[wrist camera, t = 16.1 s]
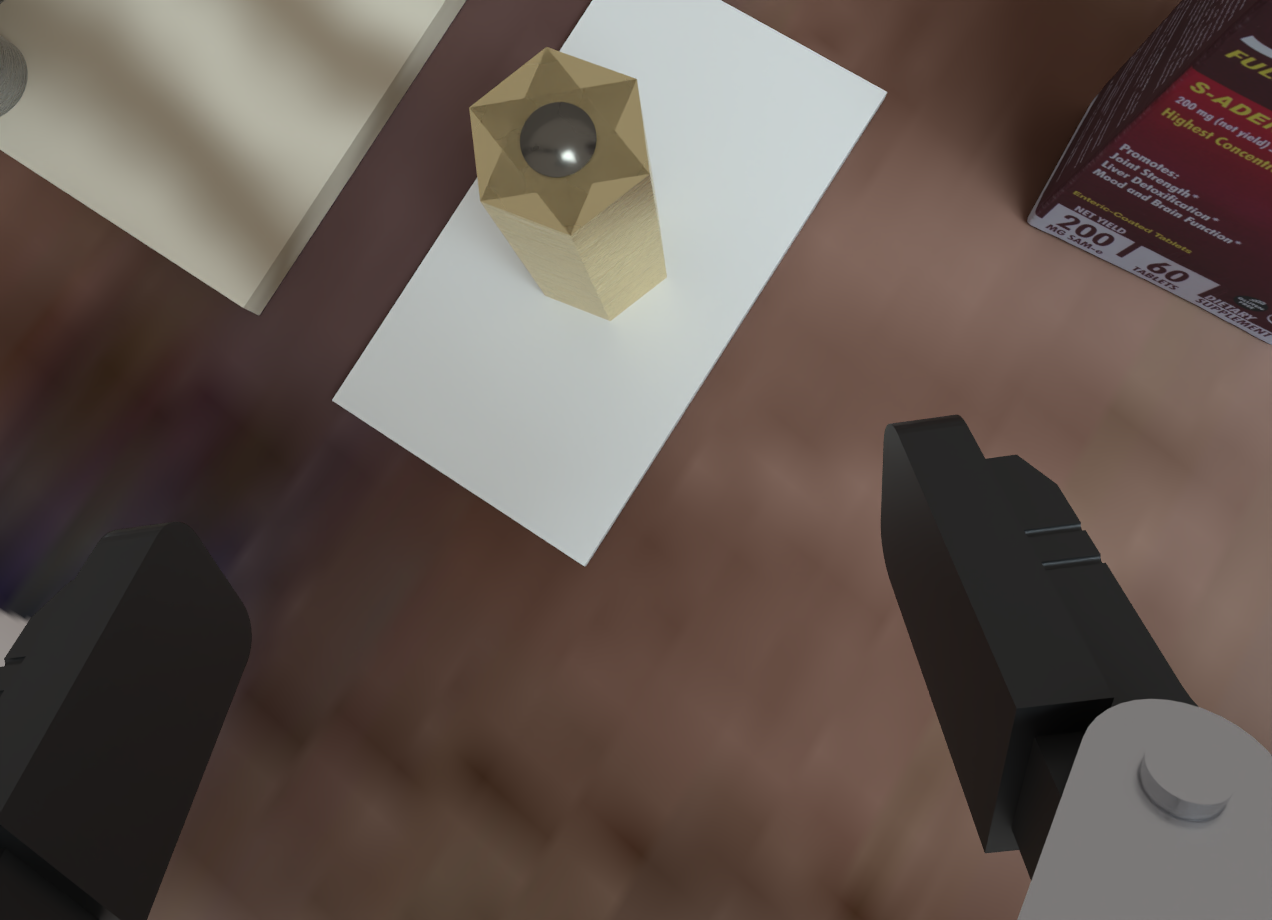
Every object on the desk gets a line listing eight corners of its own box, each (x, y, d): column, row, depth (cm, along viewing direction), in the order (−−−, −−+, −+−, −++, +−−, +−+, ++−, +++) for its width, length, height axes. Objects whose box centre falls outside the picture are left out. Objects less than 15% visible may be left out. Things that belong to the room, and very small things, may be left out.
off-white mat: (586, 565, 28) (584, 566, 27) (337, 402, 29) (331, 400, 28) (884, 98, 28) (887, 92, 28) (627, -45, 29) (626, -52, 29)
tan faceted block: (582, 343, 28) (530, 265, 20) (509, 249, 28) (429, 136, 20) (695, 255, 28) (689, 141, 20) (620, 162, 28) (584, 15, 20)
